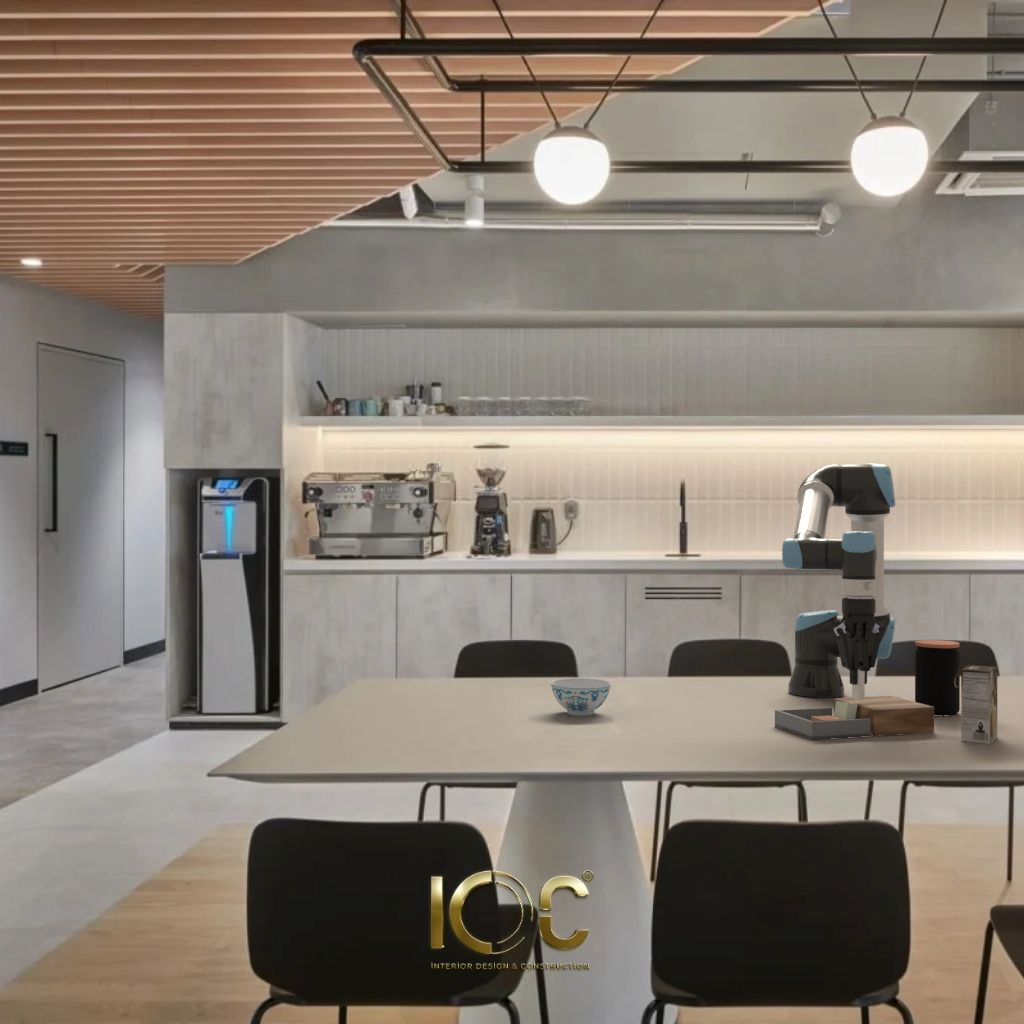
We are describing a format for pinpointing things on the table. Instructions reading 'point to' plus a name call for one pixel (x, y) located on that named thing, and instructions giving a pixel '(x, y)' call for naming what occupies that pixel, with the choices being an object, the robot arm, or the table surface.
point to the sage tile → (845, 710)
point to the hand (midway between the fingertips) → (858, 698)
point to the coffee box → (979, 704)
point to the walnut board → (893, 715)
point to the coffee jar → (938, 675)
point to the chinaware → (580, 694)
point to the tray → (820, 724)
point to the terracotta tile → (824, 718)
